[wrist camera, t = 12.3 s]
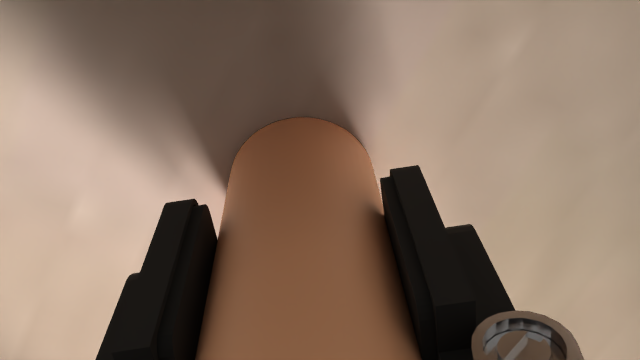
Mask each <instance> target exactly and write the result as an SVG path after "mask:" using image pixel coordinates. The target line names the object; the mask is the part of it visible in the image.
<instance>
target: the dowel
mask: <svg viewBox="0 0 640 360" xmlns="http://www.w3.org/2000/svg"><path fill="white" fill-rule="evenodd" d="M195 360H422V358H421V354H420V351H419V347H418V343H417V339H416V335H415V332H414V328H413V324H412V320H411V316H410V313H409V309H408V305H407V301H406V297H405V294H404V290H403V286H402V282H401V278H400V275H399V271H398V267H397V263H396V259H395V256H394V252H393V248H392V244H391V240H390V237H389V233H388V229H387V225H386V221H385V218H384V210H383V204H382V200H381V197H380V193H379V189H378V186H377V182H376V178H375V174H374V171H373V167H372V164H371V161H370V158H369V156H368V154H367V152H366V150H365V149H364V147H363V146H362V144H361V143H360V142H359V141H358V140H357V139H356V138H355V137H354V136H353V135H352V134H351V133H349V132H348V131H347V130H345V129H343V128H342V127H340V126H338V125H336V124H334V123H331V122H329V121H325V120H322V119H316V118H308V117H298V118H289V119H284V120H280V121H277V122H274V123H271V124H269V125H267V126H265V127H263V128H262V129H260V130H259V131H257V132H256V133H254V134H253V135H252V136H251V137H250V138H249V139H248V140H247V141H246V142H245V143H244V144H243V145H242V147H241V148H240V150H239V151H238V153H237V155H236V157H235V159H234V162H233V165H232V169H231V173H230V178H229V184H228V189H227V194H226V199H225V205H224V210H223V215H222V220H221V226H220V231H219V236H218V241H217V247H216V252H215V257H214V262H213V267H212V273H211V278H210V283H209V288H208V294H207V299H206V304H205V309H204V315H203V320H202V325H201V330H200V336H199V341H198V346H197V351H196V357H195Z"/></svg>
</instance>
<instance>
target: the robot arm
mask: <svg viewBox="0 0 640 360" xmlns="http://www.w3.org/2000/svg"><path fill="white" fill-rule="evenodd" d="M380 182H381V192H382V201H383V210H384V218H385V221H386V225H387V229H388V233H389V237H390V240H391V244H392V248H393V252H394V256H395V259H396V263H397V267H398V271H399V275H400V278H401V282H402V286H403V290H404V294H405V297H406V301H407V305H408V309H409V313H410V316H411V320H412V324H413V328H414V332H415V335H416V339H417V343H418V347H419V351H420V354H421V358H422V360H584V358H583V356H582V353H581V351H580V348H579V346H578V343H577V342H576V340H575V339H574V337H573V335H572V334H571V332H570V331H568V330H567V329H566V328H565V327H564V326H563V325H561V324H560V323H559V322H557V321H555V320H553V319H551V318H549V317H547V316H545V315H541V314H537V313H533V312H529V311H515V309H514V307H513V305H512V303H511V301H510V299H509V297H508V295H507V293H506V291H505V289H504V287H503V285H502V283H501V281H500V279H499V277H498V275H497V273H496V271H495V269H494V267H493V265H492V263H491V261H490V259H489V257H488V255H487V253H486V251H485V249H484V247H483V245H482V243H481V241H480V239H479V237H478V235H477V233H476V231H475V229H474V227H473V226H472V225H470V224H468V225H461V226H454V227H447V228H445V227H444V224H443V222H442V219H441V217H440V215H439V212H438V210H437V208H436V205H435V203H434V200H433V198H432V196H431V193H430V191H429V189H428V186H427V184H426V181H425V179H424V177H423V174H422V172H421V170H420V167H419V166H418V165H416V166H409V167H403V168H396V169H390V177H385V178H380ZM217 241H218V240H217V236H216V233H215V229H214V225H213V222H212V218H211V215H210V211H209V208H208V206H207V205H206V204H205V205H198V203H197V201H196V200H195V199H190V200H183V201H176V202H170V203H166V204H165V205H164V208H163V211H162V213H161V216H160V219H159V222H158V224H157V227H156V230H155V233H154V235H153V238H152V241H151V244H150V246H149V249H148V252H147V255H146V257H145V260H144V263H143V266H142V268H141V271H140V273H133V274H131V275H129V277H128V279H127V280H126V283H125V285H124V288H123V290H122V293H121V296H120V298H119V301H118V303H117V306H116V308H115V311H114V314H113V316H112V319H111V321H110V324H109V326H108V329H107V331H106V334H105V337H104V339H103V342H102V344H101V347H100V349H99V352H98V355H97V357H96V360H195V357H196V351H197V346H198V341H199V336H200V330H201V325H202V320H203V315H204V309H205V304H206V299H207V294H208V288H209V283H210V278H211V273H212V267H213V262H214V257H215V252H216V247H217Z"/></svg>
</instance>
